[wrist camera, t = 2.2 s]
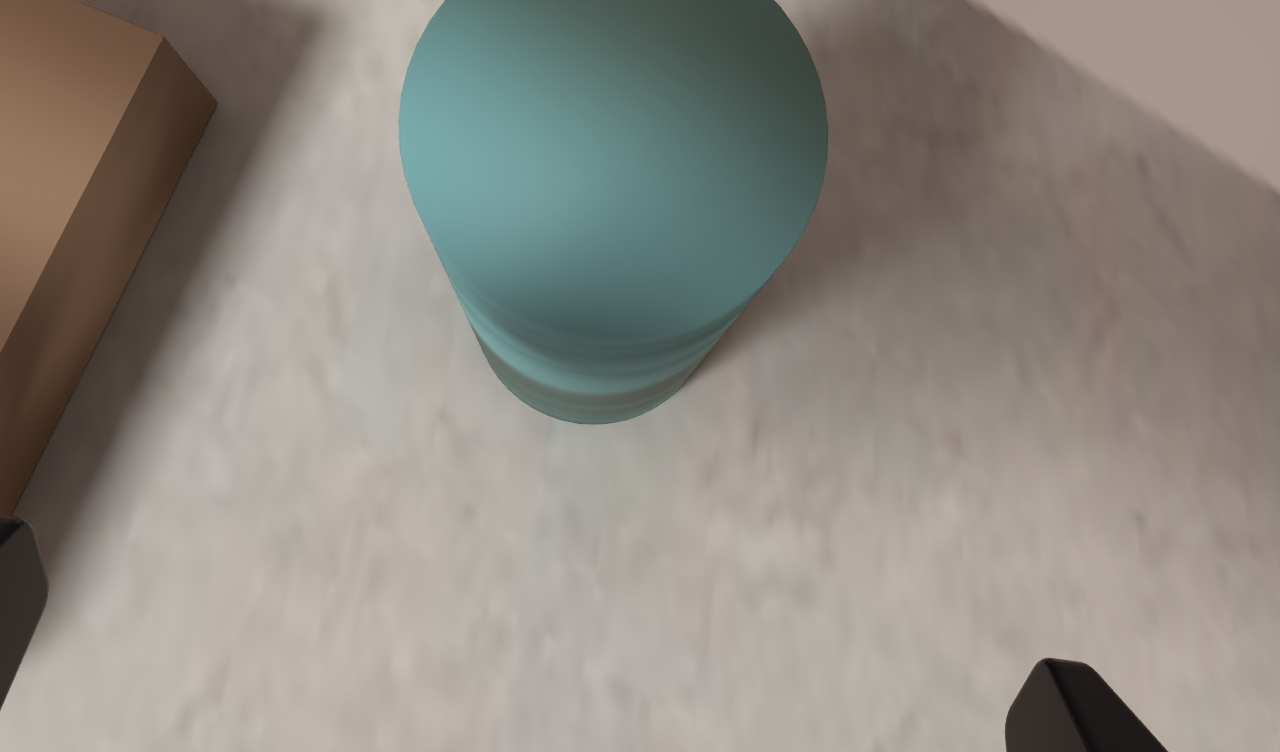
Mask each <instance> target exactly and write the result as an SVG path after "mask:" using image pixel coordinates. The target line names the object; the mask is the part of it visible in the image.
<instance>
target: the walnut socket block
mask: <svg viewBox="0 0 1280 752" xmlns="http://www.w3.org/2000/svg"><path fill="white" fill-rule="evenodd" d="M217 103H218V102H217V101H216V100H215V99H214V98H213V96H212V95H211V94H210V93H209V91H208V90H207V89H206V88H205V87H204V85H203V84H202V83H201V82H200V80H199V79H198V78H197V77H196V76H195V74H194V73H193V72H192V71H191V69H190V68H189V67H188V66H187V65H186V63H185V62H184V61H183V60H182V58H181V57H180V56H179V55H178V54H177V52H176V51H175V50H174V49H173V47H172V46H171V45H170V44H169V43H168V41H167V40H166V39H165V38H164V37H163V36H161V35H159V34H156V33H154V32H151V31H149V30H146V29H144V28H141V27H139V26H137V25H134V24H132V23H129V22H127V21H124V20H122V19H120V18H117V17H115V16H112V15H110V14H107V13H105V12H102V11H100V10H98V9H95V8H93V7H90V6H88V5H85V4H83V3H81V2H78V1H76V0H0V515H7V516H11V515H12V513H13V511H14V509H15V507H16V505H17V503H18V501H19V499H20V497H21V495H22V493H23V491H24V489H25V487H26V485H27V483H28V481H29V479H30V477H31V475H32V473H33V471H34V469H35V467H36V465H37V463H38V461H39V459H40V457H41V455H42V453H43V451H44V449H45V447H46V445H47V443H48V441H49V439H50V437H51V435H52V433H53V431H54V429H55V427H56V425H57V423H58V421H59V419H60V417H61V415H62V413H63V411H64V409H65V407H66V405H67V403H68V401H69V399H70V397H71V395H72V393H73V391H74V389H75V387H76V385H77V383H78V381H79V379H80V377H81V375H82V373H83V371H84V369H85V367H86V365H87V363H88V361H89V359H90V357H91V355H92V353H93V351H94V349H95V347H96V345H97V343H98V341H99V339H100V337H101V335H102V333H103V331H104V329H105V327H106V325H107V323H108V321H109V319H110V317H111V315H112V313H113V311H114V309H115V307H116V305H117V303H118V301H119V299H120V297H121V295H122V293H123V291H124V289H125V287H126V285H127V283H128V281H129V279H130V277H131V275H132V273H133V271H134V269H135V267H136V265H137V263H138V261H139V259H140V257H141V255H142V253H143V251H144V249H145V247H146V245H147V243H148V241H149V239H150V237H151V235H152V233H153V231H154V229H155V227H156V225H157V223H158V221H159V219H160V217H161V215H162V213H163V211H164V209H165V207H166V205H167V203H168V201H169V199H170V197H171V195H172V193H173V191H174V189H175V187H176V185H177V183H178V181H179V179H180V177H181V175H182V173H183V171H184V169H185V167H186V165H187V163H188V161H189V159H190V157H191V155H192V153H193V151H194V149H195V147H196V145H197V143H198V141H199V139H200V137H201V135H202V133H203V131H204V129H205V127H206V125H207V123H208V121H209V119H210V117H211V115H212V113H213V111H214V109H215V107H216V105H217Z"/></svg>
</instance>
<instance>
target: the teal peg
mask: <svg viewBox="0 0 1280 752" xmlns="http://www.w3.org/2000/svg"><path fill="white" fill-rule="evenodd" d="M399 142H400V153H401V159H402V164H403V169H404V175H405V179H406V182H407V185H408V188H409V191H410V194H411V196H412V199H413V202H414V205H415V207H416V209H417V211H418V213H419V215H420V218H421V220H422V222H423V224H424V226H425V228H426V230H427V233H428V235H429V237H430V239H431V241H432V243H433V245H434V248H435V250H436V252H437V254H438V256H439V258H440V260H441V263H442V265H443V267H444V269H445V271H446V273H447V275H448V278H449V280H450V282H451V284H452V286H453V288H454V290H455V293H456V295H457V297H458V299H459V301H460V303H461V305H462V307H463V310H464V312H465V314H466V316H467V318H468V320H469V322H470V325H471V327H472V329H473V331H474V333H475V335H476V337H477V340H478V342H479V344H480V346H481V348H482V350H483V352H484V354H485V356H486V358H487V360H488V363H489V365H490V366H491V368H492V369H493V371H494V372H495V374H496V375H497V377H498V378H499V379H500V380H501V381H502V383H503V384H504V385H505V386H506V387H507V388H508V389H509V390H510V391H511V392H512V393H513V394H514V395H515V396H517V397H518V398H519V399H520V400H521V401H523V402H524V403H526V404H527V405H529V406H531V407H532V408H534V409H536V410H538V411H540V412H542V413H544V414H546V415H548V416H551V417H554V418H557V419H560V420H563V421H568V422H573V423H578V424H608V423H614V422H619V421H624V420H628V419H630V418H633V417H636V416H639V415H641V414H643V413H645V412H647V411H649V410H651V409H653V408H655V407H657V406H658V405H659V404H661V403H662V402H664V401H665V400H667V399H668V398H669V397H670V396H671V395H672V394H674V393H675V392H676V391H677V390H678V389H679V388H680V387H681V386H682V384H683V383H684V382H685V381H686V380H687V379H688V377H689V376H690V375H691V374H692V373H693V371H694V370H695V369H696V368H697V366H698V365H699V364H700V363H701V362H702V360H703V359H704V358H705V357H706V355H707V354H708V353H709V352H710V350H711V349H712V348H713V347H714V346H715V344H716V343H717V342H718V341H719V339H720V338H721V337H722V336H723V335H724V333H725V332H726V331H727V330H728V328H729V327H730V326H731V325H732V323H733V322H734V321H735V320H736V319H737V317H738V316H739V315H740V314H741V312H742V311H743V310H744V309H745V308H746V306H747V305H748V304H749V303H750V301H751V300H752V299H753V298H754V297H755V295H756V294H757V293H758V292H759V290H760V289H761V288H762V287H763V285H764V284H765V283H766V282H767V281H768V279H769V278H770V277H771V276H772V274H773V273H774V272H775V271H776V270H777V268H778V267H779V266H780V265H781V263H782V262H783V261H784V260H785V259H786V257H787V256H788V255H789V253H790V252H791V250H792V249H793V247H794V246H795V244H796V243H797V241H798V240H799V238H800V236H801V235H802V233H803V232H804V230H805V228H806V225H807V223H808V221H809V219H810V217H811V215H812V213H813V211H814V208H815V206H816V202H817V199H818V196H819V193H820V190H821V186H822V183H823V178H824V172H825V166H826V160H827V144H828V125H827V116H826V107H825V100H824V96H823V92H822V88H821V84H820V80H819V76H818V74H817V71H816V69H815V66H814V63H813V61H812V58H811V56H810V53H809V51H808V49H807V47H806V46H805V44H804V42H803V40H802V38H801V36H800V35H799V33H798V31H797V29H796V28H795V26H794V25H793V24H792V22H791V21H790V19H789V18H788V17H787V15H786V14H785V13H784V11H783V10H782V8H781V7H780V6H779V5H778V4H777V3H776V2H775V1H774V0H445V1H444V3H443V4H442V5H441V7H440V8H439V9H438V11H437V12H436V13H435V15H434V16H433V17H432V19H431V20H430V22H429V23H428V25H427V27H426V29H425V31H424V32H423V34H422V36H421V38H420V40H419V41H418V43H417V45H416V48H415V51H414V53H413V56H412V58H411V61H410V63H409V66H408V69H407V72H406V77H405V81H404V85H403V89H402V94H401V102H400V113H399Z"/></svg>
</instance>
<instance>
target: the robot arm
mask: <svg viewBox="0 0 1280 752" xmlns="http://www.w3.org/2000/svg"><path fill="white" fill-rule="evenodd" d="M48 591H49V588H48V578H47V574H46V571H45V567H44V564H43V560H42V556H41V553H40V549H39V546H38V542H37V539H36V535H35V532H34V529H33V527H32V525H31V524H30V523H29V522H28V521H27V520H26V519H23V518H21V517H14V516H7V515H0V710H1V708H2V706H3V703H4V701H5V699H6V696H7V694H8V692H9V689H10V687H11V685H12V683H13V680H14V678H15V676H16V673H17V671H18V669H19V666H20V664H21V662H22V659H23V657H24V655H25V653H26V650H27V648H28V646H29V643H30V641H31V639H32V636H33V634H34V632H35V629H36V627H37V625H38V623H39V620H40V618H41V616H42V613H43V611H44V608H45V606H46V602H47V598H48ZM1005 741H1006V751H1007V752H1168V751H1167V750H1166V749H1165V748H1164V746H1163V745H1162V744H1161V743H1160V742H1159V741H1158V740H1157V739H1156V738H1155V736H1154V735H1153V734H1152V733H1151V732H1150V731H1149V730H1148V729H1147V727H1146V726H1145V725H1144V724H1143V723H1142V722H1141V721H1140V720H1139V719H1138V717H1137V716H1136V715H1135V714H1134V713H1133V712H1132V711H1131V710H1130V709H1129V707H1128V706H1127V705H1126V704H1125V703H1124V702H1123V701H1122V700H1121V699H1120V697H1119V696H1118V695H1117V694H1116V693H1115V692H1114V691H1113V690H1112V688H1111V687H1110V686H1109V685H1108V684H1107V683H1106V682H1105V681H1104V680H1103V678H1102V677H1101V676H1100V675H1099V674H1098V673H1097V672H1096V671H1095V670H1094V669H1093V668H1092V667H1090V666H1089V665H1087V664H1085V663H1082V662H1077V661H1070V660H1062V659H1055V658H1044V659H1042V660H1041V661H1039V662H1037V664H1036V665H1035V666H1034V668H1033V670H1032V671H1031V673H1030V675H1029V676H1028V678H1027V680H1026V682H1025V683H1024V685H1023V687H1022V688H1021V690H1020V692H1019V693H1018V695H1017V697H1016V699H1015V700H1014V702H1013V704H1012V705H1011V707H1010V709H1009V711H1008V715H1007V718H1006V724H1005Z"/></svg>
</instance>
